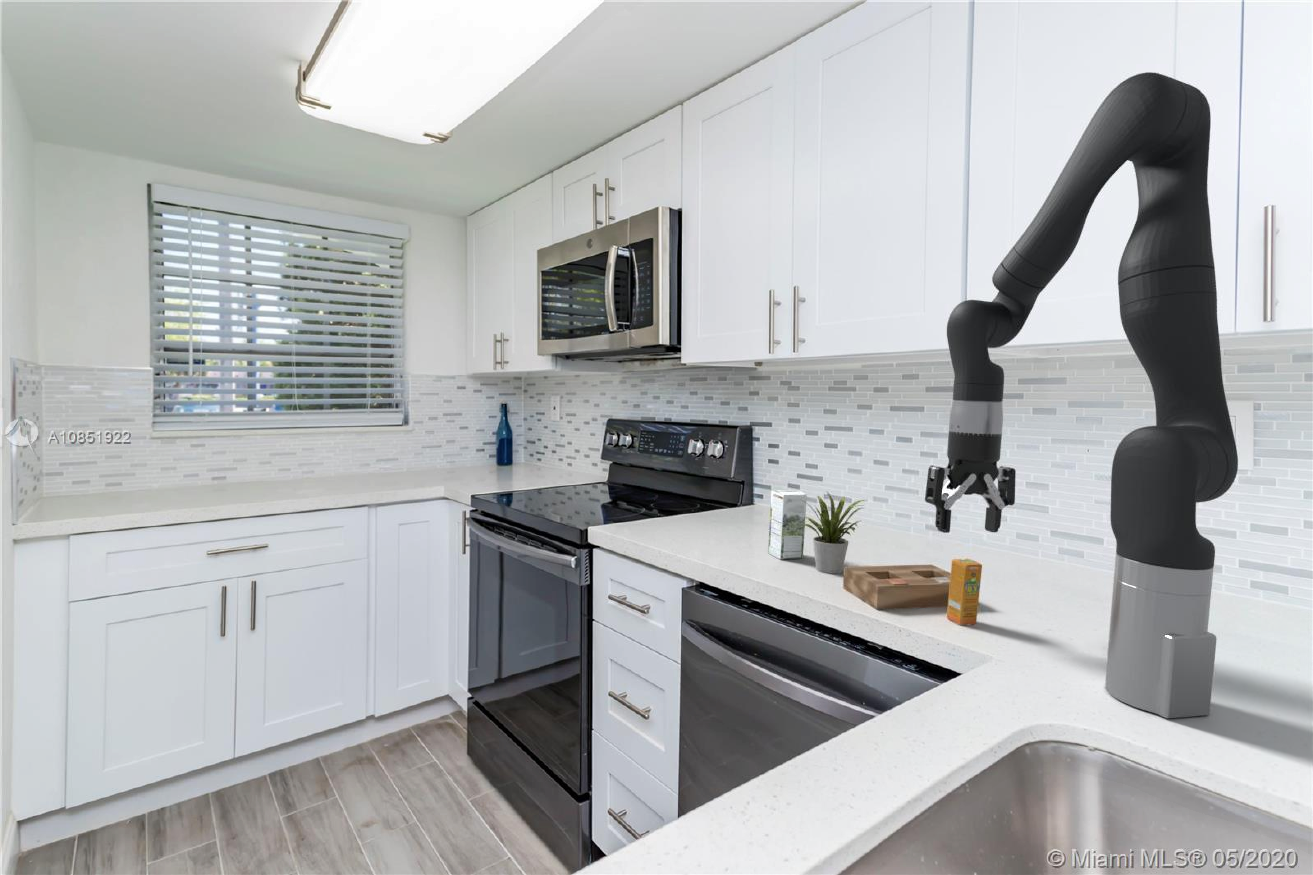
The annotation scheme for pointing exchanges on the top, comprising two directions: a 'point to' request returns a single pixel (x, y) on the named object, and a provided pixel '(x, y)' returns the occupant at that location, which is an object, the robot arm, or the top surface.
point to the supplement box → (964, 591)
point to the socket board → (899, 586)
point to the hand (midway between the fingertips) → (967, 531)
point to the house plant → (831, 536)
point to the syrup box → (787, 524)
